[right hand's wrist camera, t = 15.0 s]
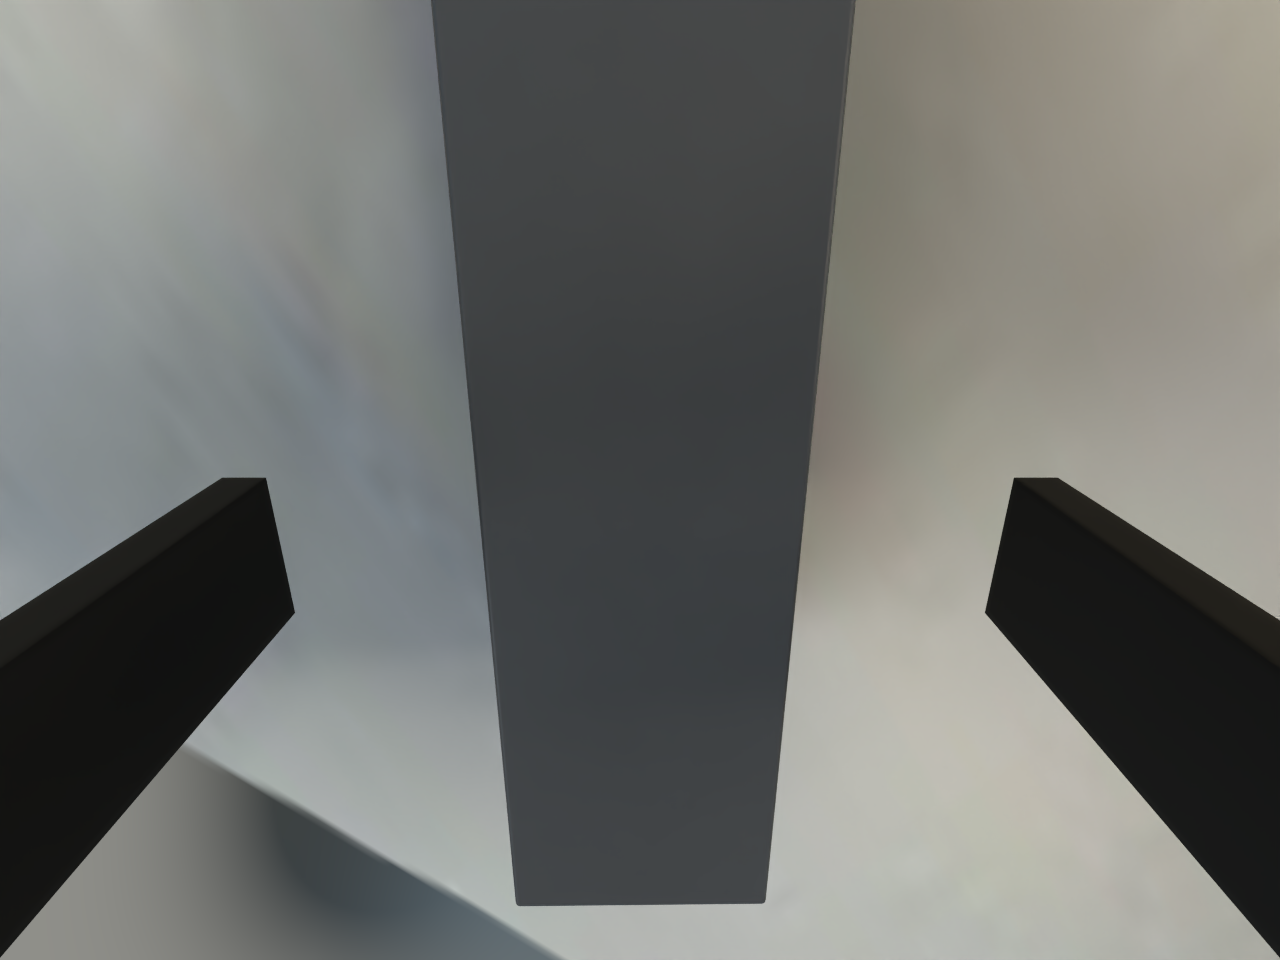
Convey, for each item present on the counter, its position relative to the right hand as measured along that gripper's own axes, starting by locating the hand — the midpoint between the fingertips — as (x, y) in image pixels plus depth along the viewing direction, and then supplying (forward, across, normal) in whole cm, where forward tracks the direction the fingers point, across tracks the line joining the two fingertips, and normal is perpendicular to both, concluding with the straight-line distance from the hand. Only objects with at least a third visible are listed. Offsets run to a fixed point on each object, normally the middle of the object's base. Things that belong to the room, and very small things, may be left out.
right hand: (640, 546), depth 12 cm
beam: (+6, 0, -32) cm, 32 cm away
